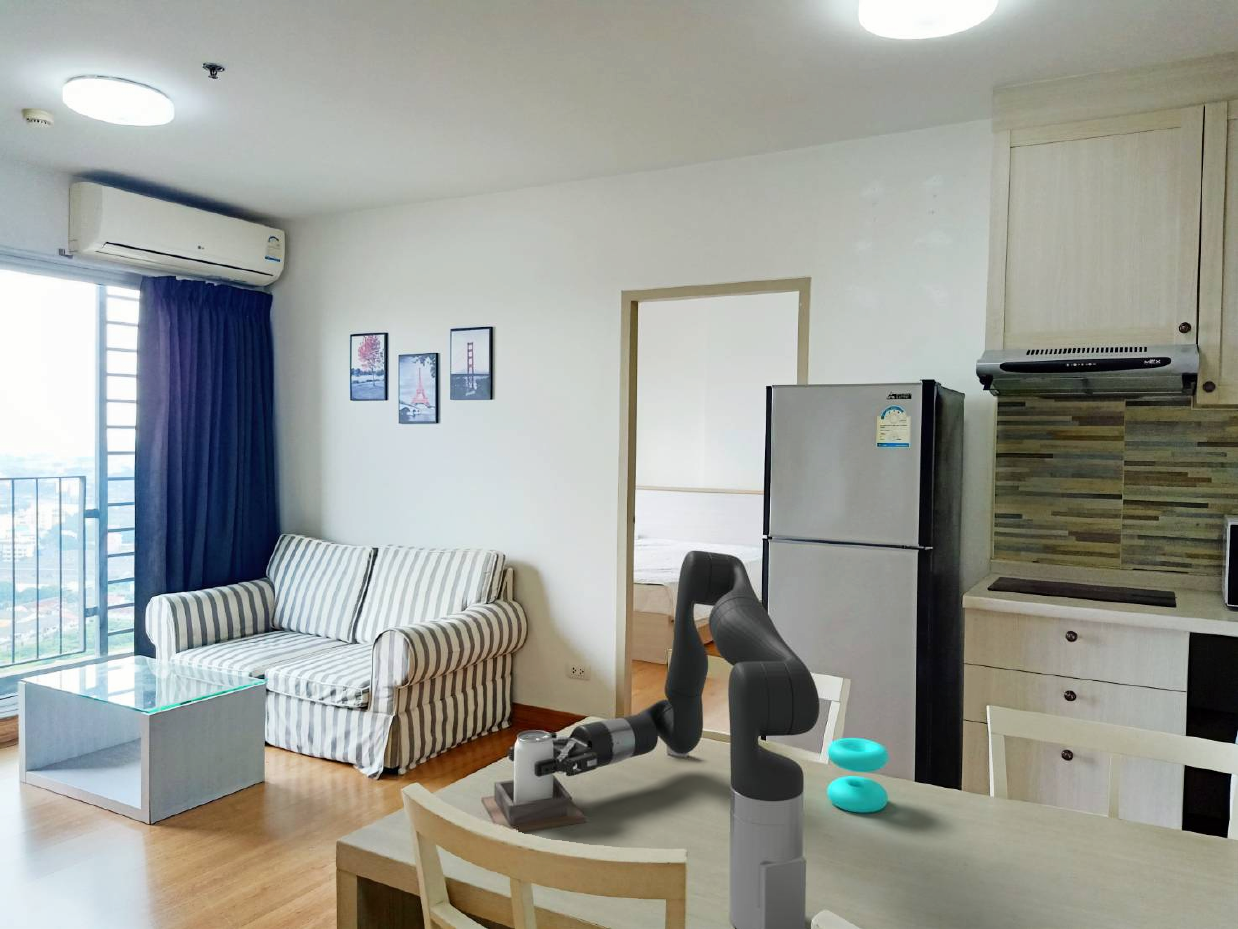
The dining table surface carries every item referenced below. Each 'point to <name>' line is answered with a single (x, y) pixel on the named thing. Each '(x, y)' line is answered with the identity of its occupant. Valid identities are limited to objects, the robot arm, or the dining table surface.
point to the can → (532, 766)
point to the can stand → (531, 808)
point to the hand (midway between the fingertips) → (522, 762)
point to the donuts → (853, 789)
